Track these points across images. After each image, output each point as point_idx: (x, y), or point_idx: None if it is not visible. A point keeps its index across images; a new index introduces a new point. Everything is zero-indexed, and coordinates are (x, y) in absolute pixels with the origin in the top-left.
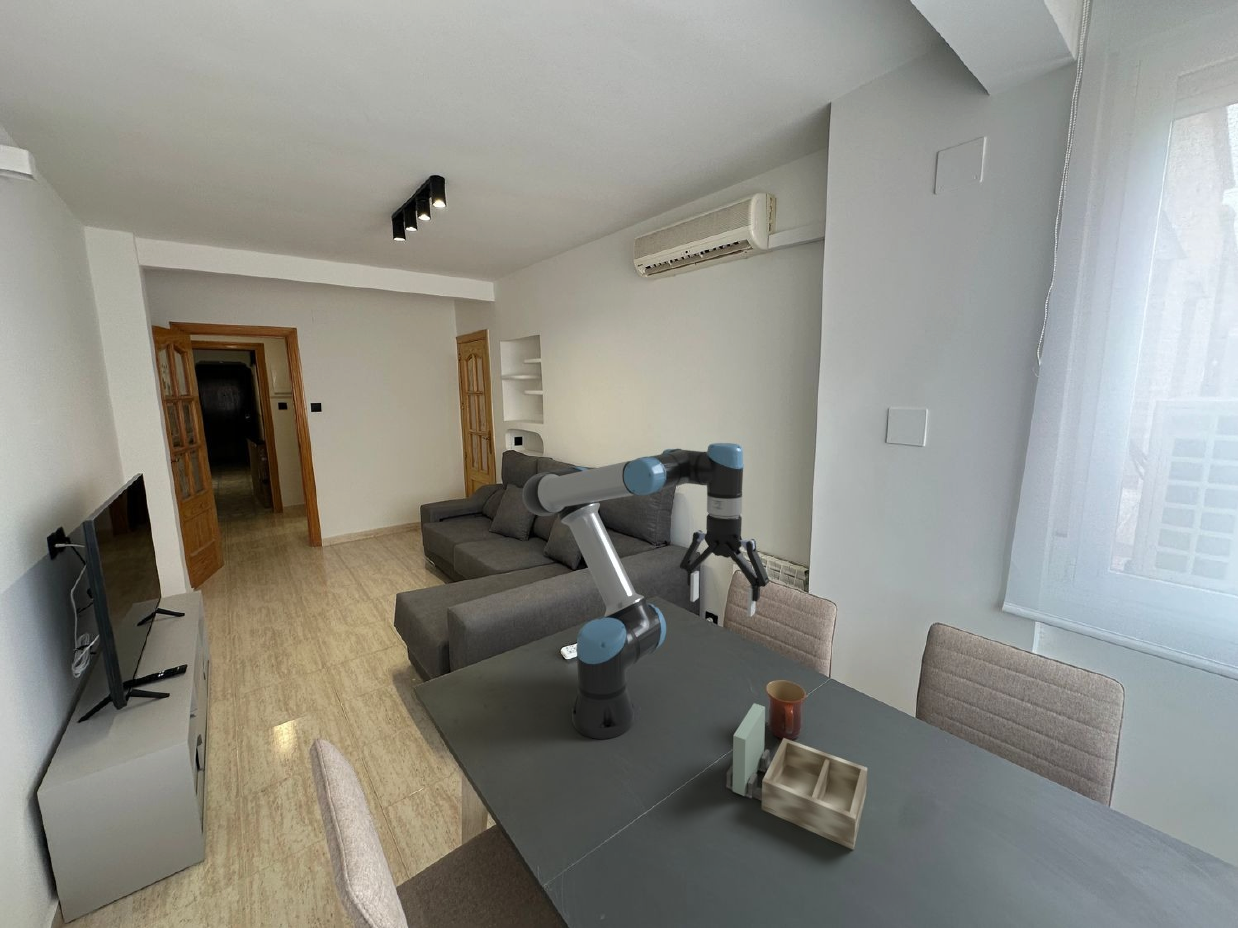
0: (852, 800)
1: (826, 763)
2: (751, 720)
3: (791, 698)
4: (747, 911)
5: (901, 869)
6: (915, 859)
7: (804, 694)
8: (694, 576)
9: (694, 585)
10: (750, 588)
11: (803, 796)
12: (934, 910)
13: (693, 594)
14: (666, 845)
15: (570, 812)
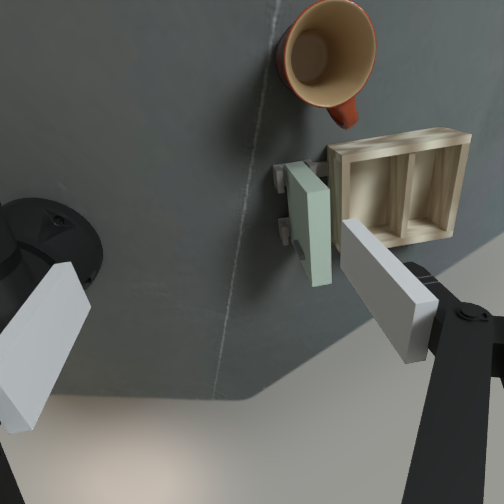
0: (428, 158)
1: (411, 162)
2: (322, 240)
3: (325, 21)
4: (352, 326)
5: (472, 209)
6: (488, 188)
7: (372, 38)
8: (34, 408)
9: (58, 357)
10: (416, 357)
11: (393, 245)
12: (494, 231)
13: (79, 331)
14: (267, 328)
15: (169, 360)
